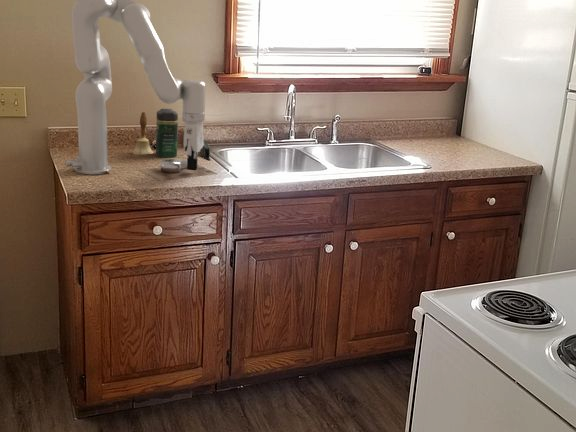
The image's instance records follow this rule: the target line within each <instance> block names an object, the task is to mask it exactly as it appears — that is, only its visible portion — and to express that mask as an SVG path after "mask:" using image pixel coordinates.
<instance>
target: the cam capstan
mask: <svg viewBox="0 0 576 432" xmlns="http://www.w3.org/2000/svg"><path fill="white" fill-rule="evenodd" d="M183 167H187V158H185V159H180V158H179V159H174V158H169V159H168V158H167V159H162V160H160V168H161V171H164V172H179V171H181V168H183Z"/></svg>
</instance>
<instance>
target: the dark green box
mask: <svg viewBox="0 0 576 432" xmlns="http://www.w3.org/2000/svg"><path fill="white" fill-rule="evenodd" d="M199 152H200V154H201V157H202V158H203V159H206V160H208V161H211V146H210V145H209V143H208V142H207V141H204V146H203V148H202V149H200V150H199Z"/></svg>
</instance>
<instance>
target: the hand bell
mask: <svg viewBox="0 0 576 432" xmlns="http://www.w3.org/2000/svg"><path fill="white" fill-rule="evenodd" d="M139 124H140V137H139V138H138V139H136V145H135V148H134V149H133V150H132V152H131V154H132V155H135V156H139V155H149V154H150V155H151V154H154V151H153V150H152V148H151V147H150V140H149V139H148V138H146V129H147V128H146V127H147V124H148V118H147V115H146V112H144V111H143V112H141V114H140V118H139Z"/></svg>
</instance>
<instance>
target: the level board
mask: <svg viewBox="0 0 576 432" xmlns="http://www.w3.org/2000/svg"><path fill="white" fill-rule="evenodd" d="M138 171H139V172H141V173H143V174H146V175H147V176H149V177H151V178H152V179H155V180H157V181H158V182H161V181H170V180H177V179H186V178H187V179H188V178H195V177H203V176H212V175H219V173H217V172H215V171H212V170H211V169H209V168H206V167H204V166H202V165H201V164H199V163H197V169H196V170H188V169H187V167H183V168H181V171H179V172H164V171H161V167H153V168H145V169H138Z"/></svg>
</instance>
